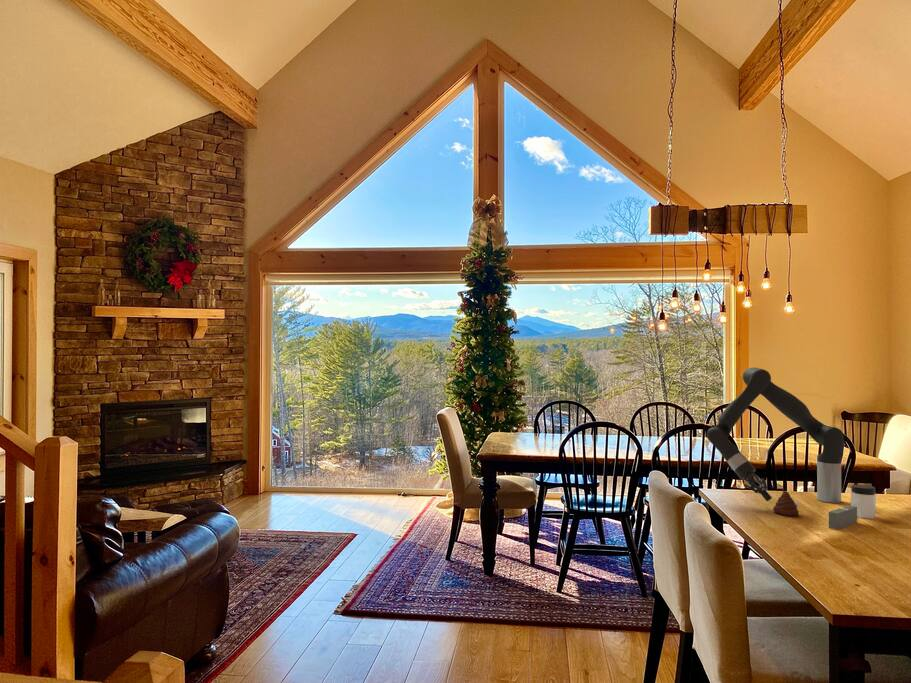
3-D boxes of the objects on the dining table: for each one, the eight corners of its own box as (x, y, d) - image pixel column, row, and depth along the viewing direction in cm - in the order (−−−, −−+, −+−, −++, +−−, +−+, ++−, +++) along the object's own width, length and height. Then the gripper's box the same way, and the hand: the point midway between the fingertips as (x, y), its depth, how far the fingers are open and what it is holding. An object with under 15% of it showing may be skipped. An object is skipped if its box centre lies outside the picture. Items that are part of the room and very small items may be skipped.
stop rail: (848, 520, 245) (848, 504, 245) (857, 522, 243) (857, 506, 243) (828, 527, 234) (828, 511, 235) (837, 529, 232) (837, 512, 232)
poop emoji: (768, 511, 259) (768, 489, 259) (784, 510, 261) (784, 488, 261) (787, 517, 249) (787, 494, 249) (804, 516, 252) (804, 493, 252)
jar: (845, 514, 256) (845, 484, 256) (860, 512, 258) (860, 483, 258) (865, 519, 247) (865, 489, 247) (881, 518, 250) (881, 488, 250)
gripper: (739, 462, 265) (768, 496, 255) (755, 459, 273) (783, 492, 263) (727, 472, 269) (755, 507, 259) (743, 469, 277) (771, 502, 267)
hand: (769, 499), depth 261 cm, fingers closed
